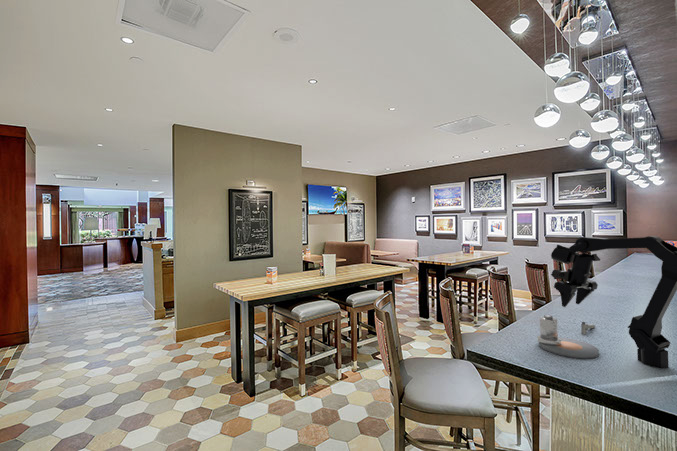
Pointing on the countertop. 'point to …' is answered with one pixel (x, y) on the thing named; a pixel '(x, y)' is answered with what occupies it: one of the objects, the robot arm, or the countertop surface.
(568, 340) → the turntable
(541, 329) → the cover
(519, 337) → the countertop surface
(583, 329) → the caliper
